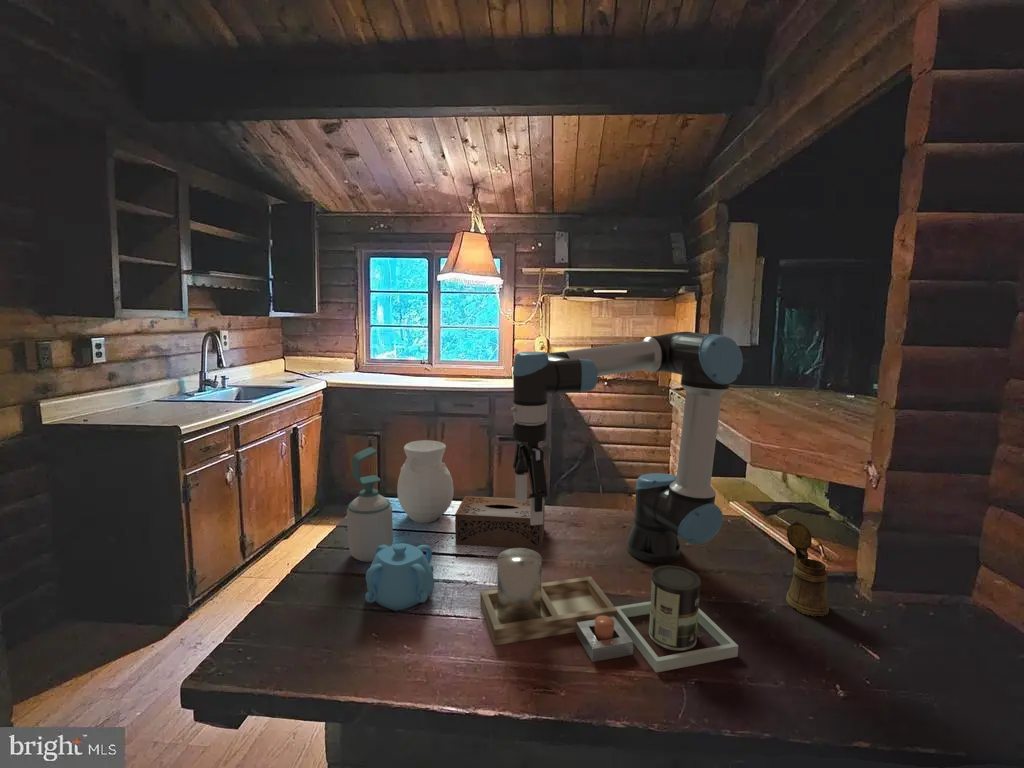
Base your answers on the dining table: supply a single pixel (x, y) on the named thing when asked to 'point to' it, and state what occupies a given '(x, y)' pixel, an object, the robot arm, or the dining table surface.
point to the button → (604, 628)
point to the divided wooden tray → (550, 610)
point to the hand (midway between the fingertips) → (528, 511)
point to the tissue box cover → (497, 523)
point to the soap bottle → (368, 515)
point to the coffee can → (674, 607)
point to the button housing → (604, 641)
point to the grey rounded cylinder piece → (518, 585)
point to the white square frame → (681, 659)
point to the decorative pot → (400, 576)
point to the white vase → (425, 481)
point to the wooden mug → (806, 575)
